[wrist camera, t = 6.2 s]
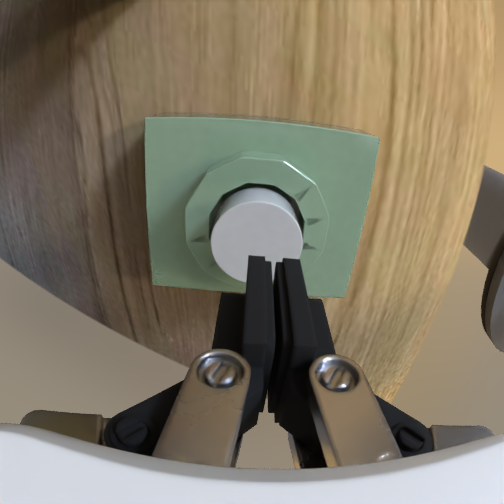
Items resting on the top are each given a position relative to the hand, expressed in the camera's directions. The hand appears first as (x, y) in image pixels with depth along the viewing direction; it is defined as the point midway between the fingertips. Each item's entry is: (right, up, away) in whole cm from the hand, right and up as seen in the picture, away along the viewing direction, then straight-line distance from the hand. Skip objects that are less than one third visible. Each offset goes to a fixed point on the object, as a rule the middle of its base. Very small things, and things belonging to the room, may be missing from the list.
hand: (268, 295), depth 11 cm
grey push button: (0, +3, +5) cm, 6 cm away
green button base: (0, +5, +9) cm, 10 cm away
